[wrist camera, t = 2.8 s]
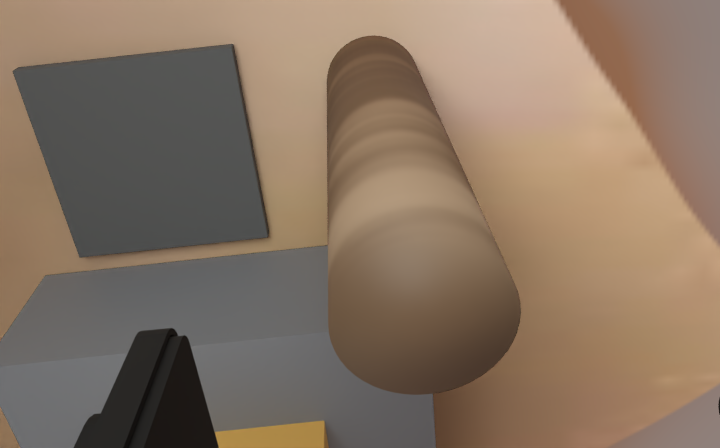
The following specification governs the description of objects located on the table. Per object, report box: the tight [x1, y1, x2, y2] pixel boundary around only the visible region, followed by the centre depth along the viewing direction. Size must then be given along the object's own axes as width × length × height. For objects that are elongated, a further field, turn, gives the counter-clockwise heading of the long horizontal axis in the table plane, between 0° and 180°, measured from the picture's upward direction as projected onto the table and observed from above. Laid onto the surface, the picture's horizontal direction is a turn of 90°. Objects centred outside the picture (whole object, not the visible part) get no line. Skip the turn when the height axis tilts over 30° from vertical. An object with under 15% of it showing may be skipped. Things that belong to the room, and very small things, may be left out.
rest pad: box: [13, 44, 269, 257], centre depth 26 cm, size 8×8×1 cm
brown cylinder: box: [327, 36, 521, 395], centre depth 18 cm, size 4×4×15 cm
